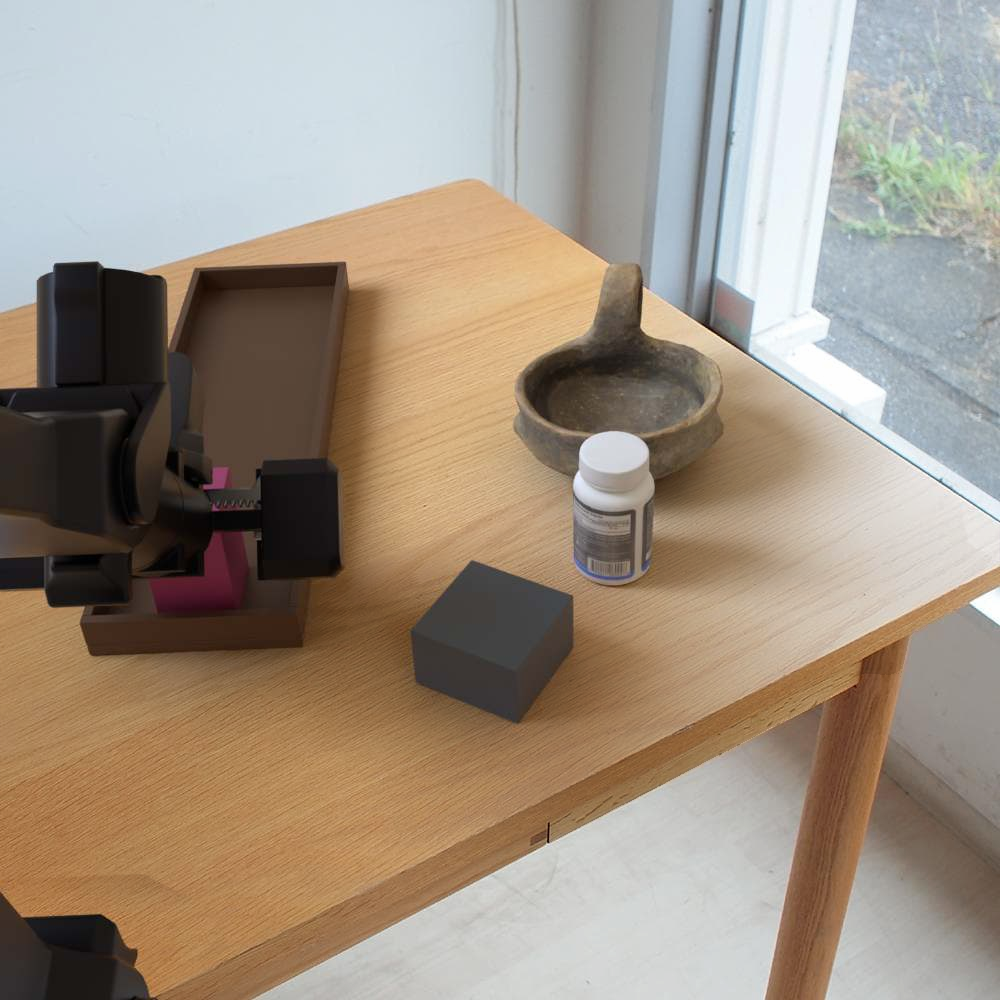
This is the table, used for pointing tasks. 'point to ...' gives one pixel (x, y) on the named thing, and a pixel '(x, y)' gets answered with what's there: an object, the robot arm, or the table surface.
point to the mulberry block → (209, 570)
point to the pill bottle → (613, 509)
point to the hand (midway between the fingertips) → (199, 539)
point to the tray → (246, 436)
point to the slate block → (493, 640)
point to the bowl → (619, 388)
